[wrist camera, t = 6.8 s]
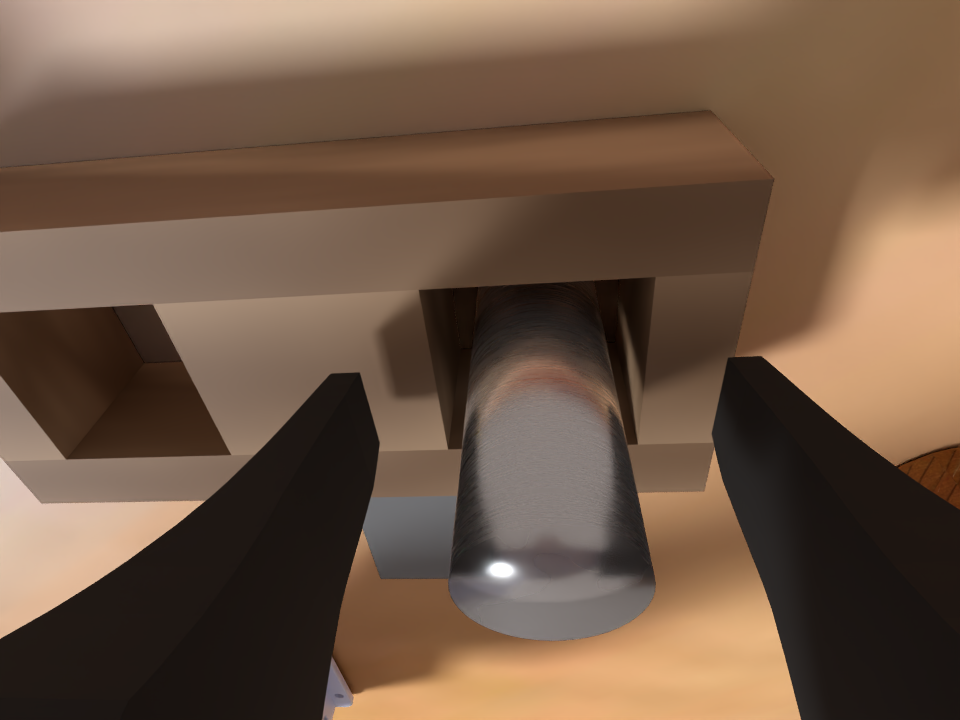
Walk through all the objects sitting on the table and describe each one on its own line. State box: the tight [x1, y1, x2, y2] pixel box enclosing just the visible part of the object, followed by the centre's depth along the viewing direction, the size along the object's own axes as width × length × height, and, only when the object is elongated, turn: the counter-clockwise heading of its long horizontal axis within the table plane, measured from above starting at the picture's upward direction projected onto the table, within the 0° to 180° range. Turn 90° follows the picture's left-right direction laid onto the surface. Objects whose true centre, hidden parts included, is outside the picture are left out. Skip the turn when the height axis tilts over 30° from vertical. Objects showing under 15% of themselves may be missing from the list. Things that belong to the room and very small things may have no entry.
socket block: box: [0, 111, 774, 503], centre depth 14 cm, size 8×18×4 cm, turn 95°
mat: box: [363, 496, 457, 579], centre depth 21 cm, size 9×10×1 cm
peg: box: [448, 280, 656, 641], centre depth 12 cm, size 3×3×9 cm
